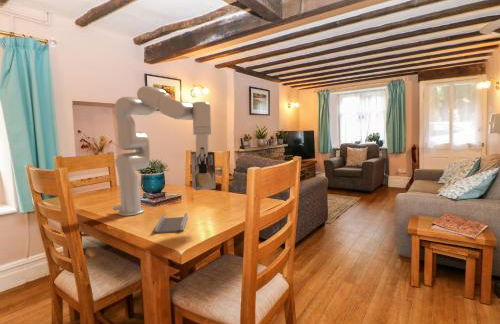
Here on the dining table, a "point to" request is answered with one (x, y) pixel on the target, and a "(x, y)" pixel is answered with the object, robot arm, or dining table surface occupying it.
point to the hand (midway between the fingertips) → (203, 171)
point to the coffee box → (203, 179)
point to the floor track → (171, 224)
